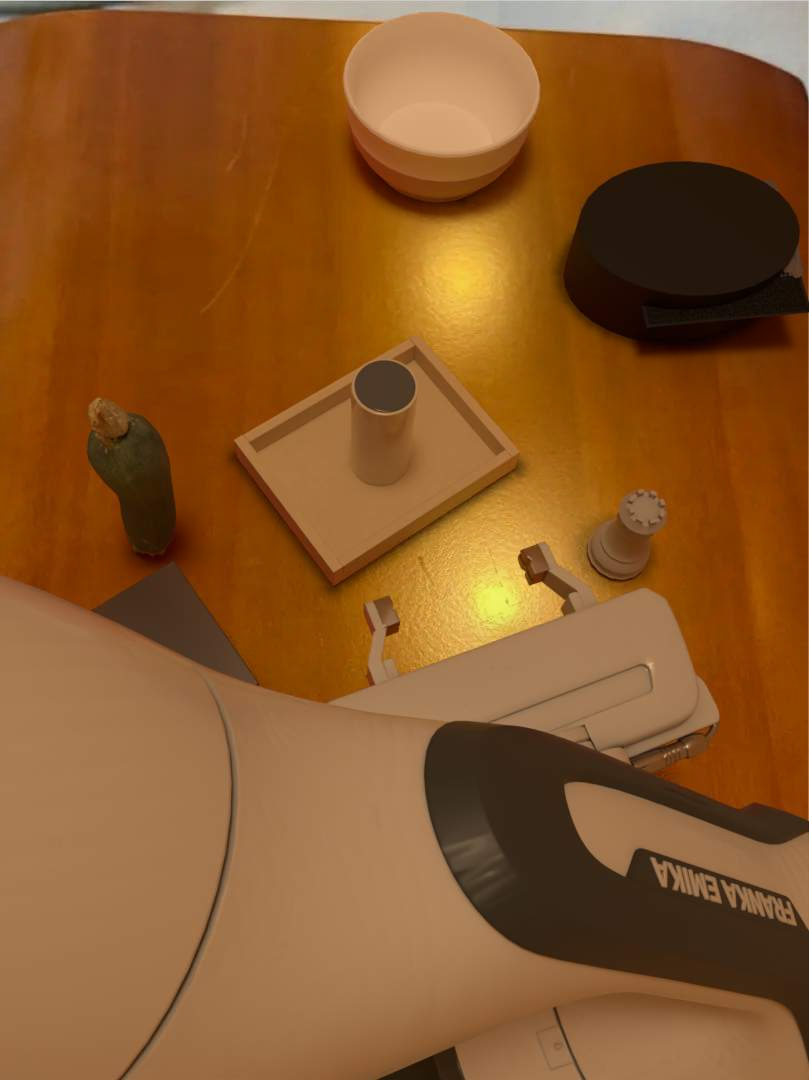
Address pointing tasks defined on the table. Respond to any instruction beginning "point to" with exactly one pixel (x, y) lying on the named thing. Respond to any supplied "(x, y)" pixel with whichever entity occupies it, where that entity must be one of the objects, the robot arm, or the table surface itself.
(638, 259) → the black flat-topped cap
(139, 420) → the vegetable
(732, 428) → the table surface
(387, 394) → the cylinder
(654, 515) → the rook chess piece
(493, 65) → the bowl
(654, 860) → the robot arm
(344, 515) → the tray
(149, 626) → the pedestal
